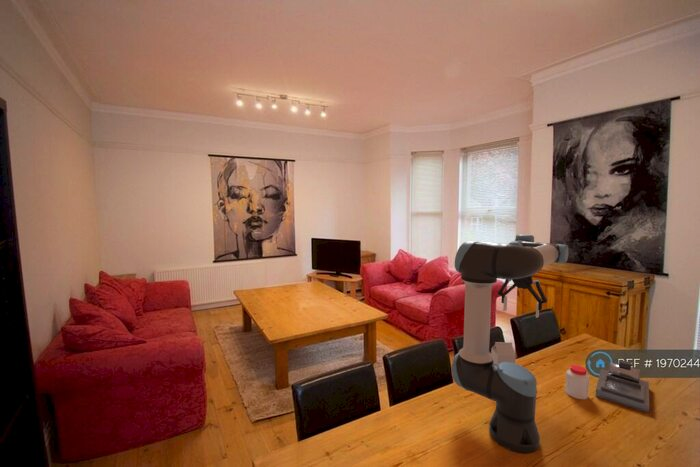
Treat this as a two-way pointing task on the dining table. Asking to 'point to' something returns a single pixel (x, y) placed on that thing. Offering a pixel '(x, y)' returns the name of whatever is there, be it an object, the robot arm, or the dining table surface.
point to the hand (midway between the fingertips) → (520, 313)
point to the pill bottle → (577, 382)
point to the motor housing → (623, 386)
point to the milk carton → (503, 353)
